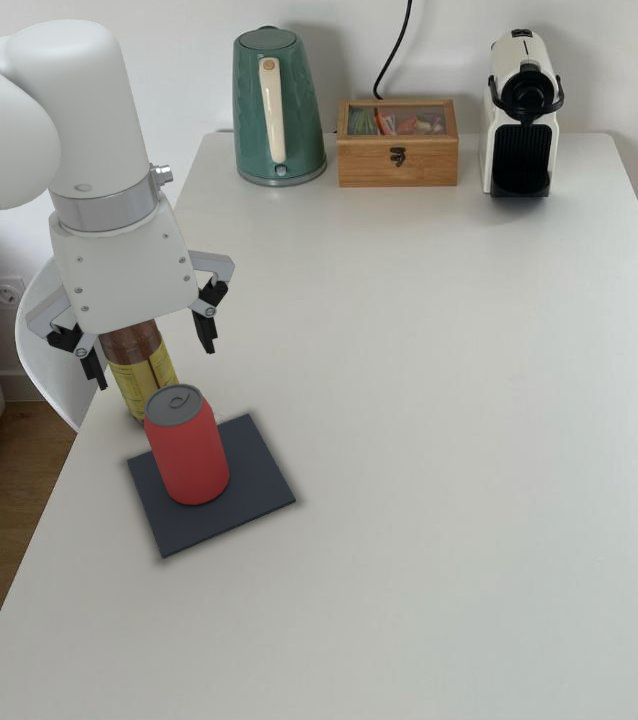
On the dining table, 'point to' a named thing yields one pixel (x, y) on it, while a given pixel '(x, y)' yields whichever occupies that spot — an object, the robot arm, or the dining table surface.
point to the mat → (231, 507)
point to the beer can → (186, 444)
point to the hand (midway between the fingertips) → (155, 362)
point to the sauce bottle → (138, 363)
